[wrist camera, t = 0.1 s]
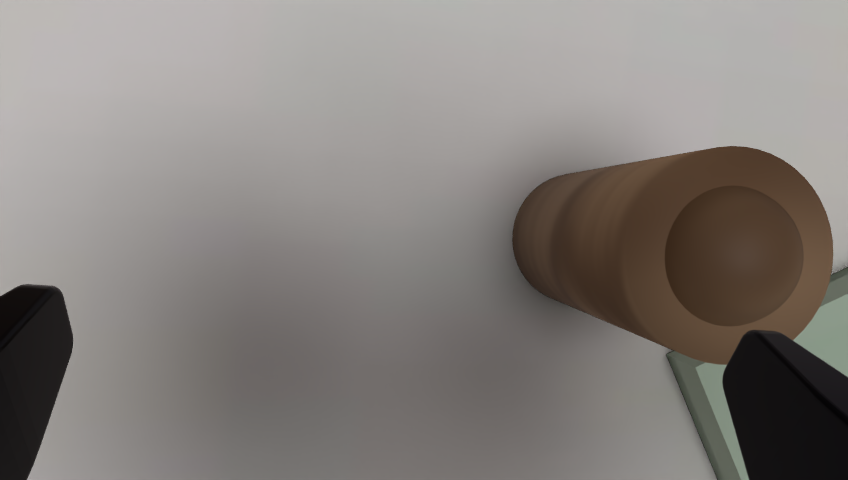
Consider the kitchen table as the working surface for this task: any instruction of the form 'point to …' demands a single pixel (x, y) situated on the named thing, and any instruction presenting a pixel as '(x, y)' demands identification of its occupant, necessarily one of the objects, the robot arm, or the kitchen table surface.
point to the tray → (702, 382)
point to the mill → (682, 247)
